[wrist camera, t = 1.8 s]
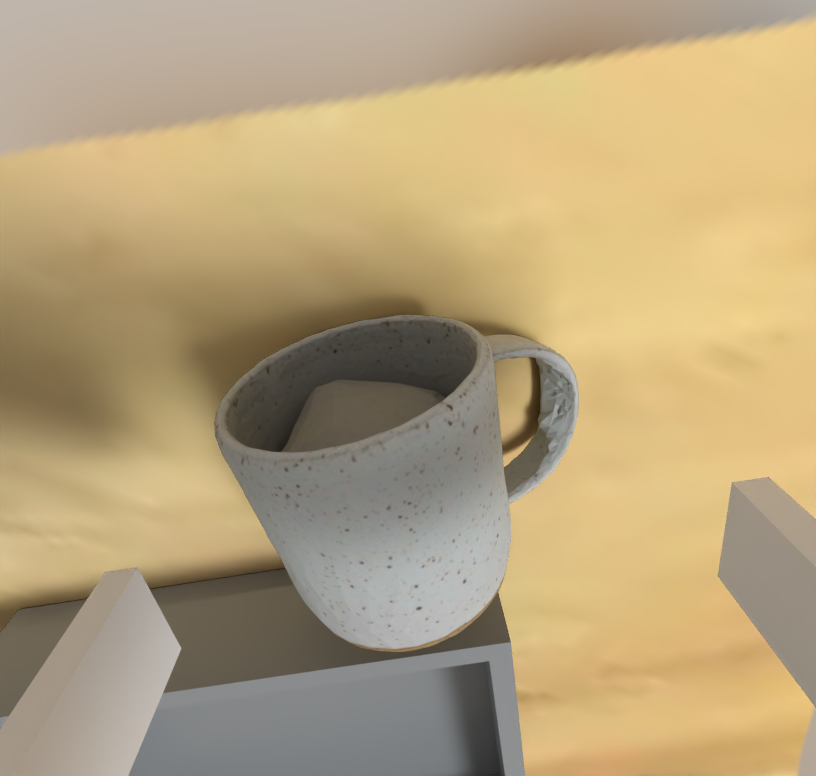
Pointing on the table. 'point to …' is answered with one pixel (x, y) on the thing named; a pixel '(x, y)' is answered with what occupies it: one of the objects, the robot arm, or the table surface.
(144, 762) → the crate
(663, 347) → the table surface
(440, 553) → the ceramic mug
